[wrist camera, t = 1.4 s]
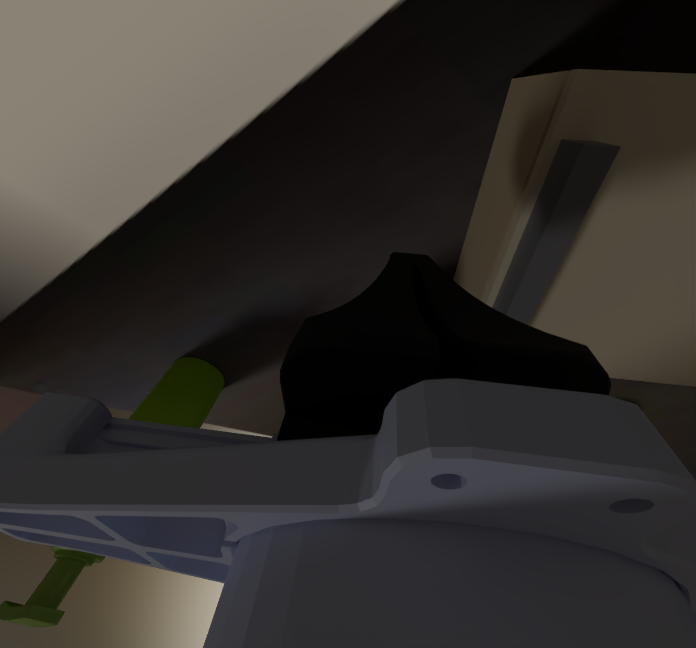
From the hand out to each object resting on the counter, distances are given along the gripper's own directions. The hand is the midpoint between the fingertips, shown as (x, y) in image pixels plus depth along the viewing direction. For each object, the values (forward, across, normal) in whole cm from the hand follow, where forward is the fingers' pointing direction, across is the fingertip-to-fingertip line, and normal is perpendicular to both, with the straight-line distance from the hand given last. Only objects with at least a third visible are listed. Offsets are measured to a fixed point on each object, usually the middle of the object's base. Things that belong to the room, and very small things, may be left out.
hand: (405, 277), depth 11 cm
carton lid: (+4, -13, +1) cm, 14 cm away
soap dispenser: (+10, +20, +21) cm, 31 cm away
